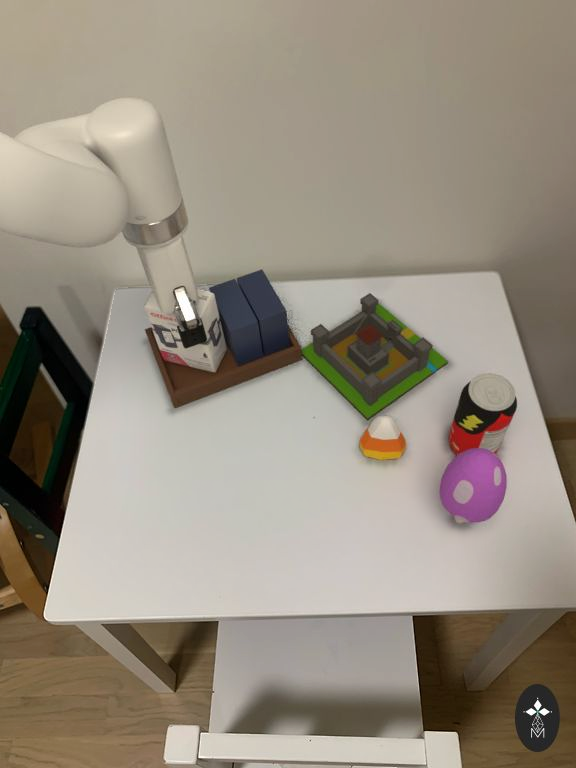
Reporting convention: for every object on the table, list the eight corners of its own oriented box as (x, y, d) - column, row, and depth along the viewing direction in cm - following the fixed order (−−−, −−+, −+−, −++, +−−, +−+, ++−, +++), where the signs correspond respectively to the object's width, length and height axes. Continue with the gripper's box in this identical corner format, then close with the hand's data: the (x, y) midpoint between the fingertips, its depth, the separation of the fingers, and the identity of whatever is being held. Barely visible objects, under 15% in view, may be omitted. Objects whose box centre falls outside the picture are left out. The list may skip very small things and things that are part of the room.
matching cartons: (238, 367, 86) (229, 331, 79) (217, 324, 91) (208, 287, 84) (290, 347, 87) (286, 310, 80) (267, 306, 92) (262, 268, 85)
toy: (492, 546, 69) (525, 490, 57) (433, 545, 69) (454, 489, 57) (483, 493, 73) (513, 430, 60) (428, 492, 73) (446, 430, 61)
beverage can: (487, 419, 79) (508, 364, 69) (505, 461, 75) (530, 409, 65) (441, 427, 78) (455, 373, 69) (456, 469, 75) (474, 419, 65)
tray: (174, 408, 83) (170, 397, 81) (149, 341, 91) (144, 329, 88) (302, 359, 87) (301, 347, 84) (267, 298, 94) (266, 286, 92)
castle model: (299, 353, 87) (296, 319, 81) (376, 304, 92) (379, 268, 86) (367, 420, 80) (369, 389, 74) (447, 363, 84) (456, 329, 78)
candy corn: (358, 459, 76) (359, 427, 70) (359, 439, 78) (361, 406, 72) (405, 463, 76) (411, 430, 69) (405, 442, 77) (411, 409, 71)
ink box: (162, 361, 86) (140, 306, 77) (176, 336, 89) (157, 279, 79) (216, 374, 84) (201, 319, 75) (228, 348, 87) (215, 291, 78)
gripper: (103, 183, 71) (141, 286, 84) (139, 276, 61) (176, 374, 75) (163, 165, 72) (191, 269, 86) (208, 253, 62) (232, 354, 76)
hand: (184, 318), depth 80 cm, fingers closed on ink box, 9 cm apart
